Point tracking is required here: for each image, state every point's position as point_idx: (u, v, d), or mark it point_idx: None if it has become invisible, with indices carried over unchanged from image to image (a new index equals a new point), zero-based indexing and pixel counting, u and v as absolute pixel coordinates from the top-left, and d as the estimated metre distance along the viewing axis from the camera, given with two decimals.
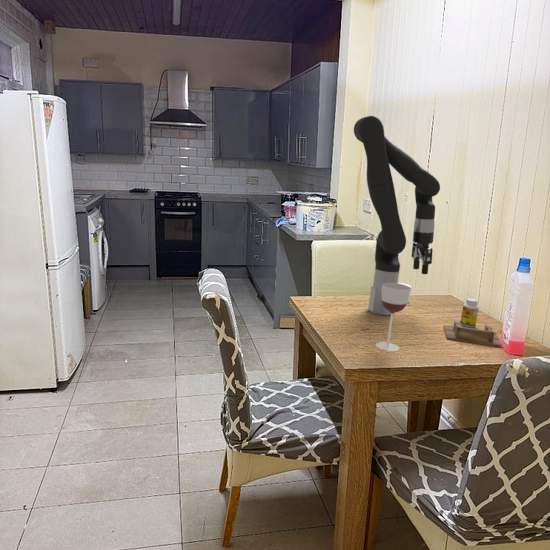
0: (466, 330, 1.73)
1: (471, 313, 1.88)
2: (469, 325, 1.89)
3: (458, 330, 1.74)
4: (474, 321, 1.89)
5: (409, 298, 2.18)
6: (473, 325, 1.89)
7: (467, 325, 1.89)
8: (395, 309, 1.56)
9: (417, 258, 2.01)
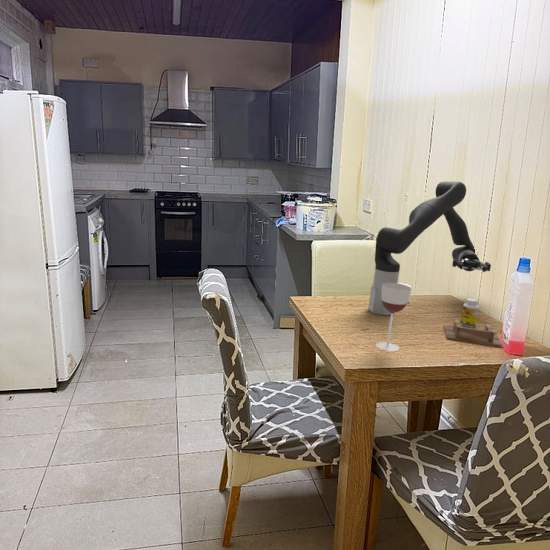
0: (466, 330, 1.73)
1: (471, 313, 1.88)
2: (469, 325, 1.89)
3: (458, 330, 1.74)
4: (474, 321, 1.89)
5: (409, 298, 2.18)
6: (473, 325, 1.89)
7: (467, 325, 1.89)
8: (395, 309, 1.56)
9: None
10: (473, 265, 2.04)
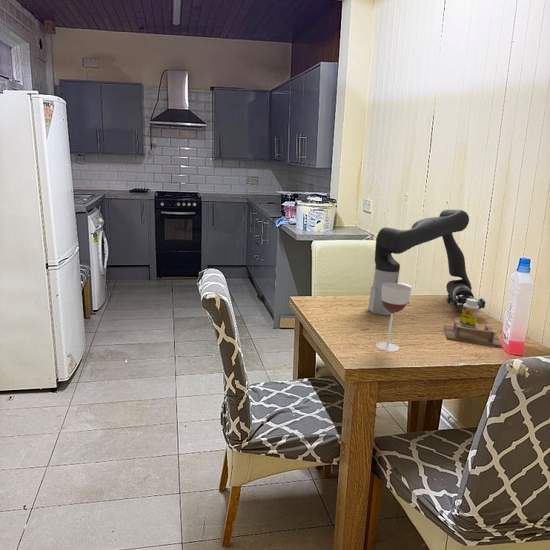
0: (466, 330, 1.73)
1: (471, 313, 1.88)
2: (469, 325, 1.89)
3: (458, 330, 1.74)
4: (474, 321, 1.89)
5: (409, 298, 2.18)
6: (473, 325, 1.89)
7: (467, 325, 1.89)
8: (395, 309, 1.56)
9: None
10: None
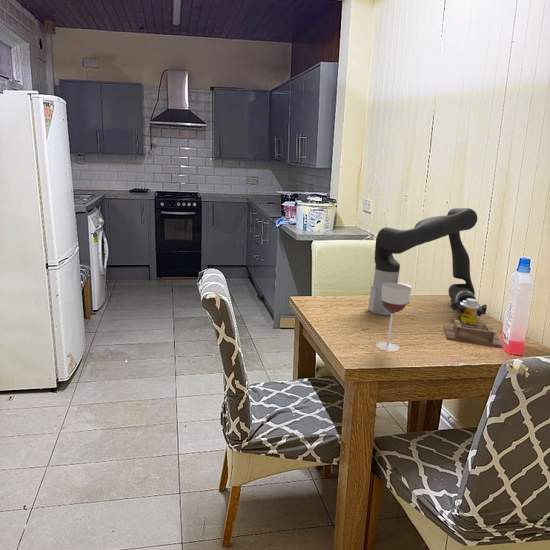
0: (466, 330, 1.73)
1: (471, 313, 1.88)
2: (469, 325, 1.89)
3: (458, 330, 1.74)
4: (474, 321, 1.89)
5: (409, 298, 2.18)
6: (473, 325, 1.89)
7: (467, 325, 1.89)
8: (395, 309, 1.56)
9: None
10: None
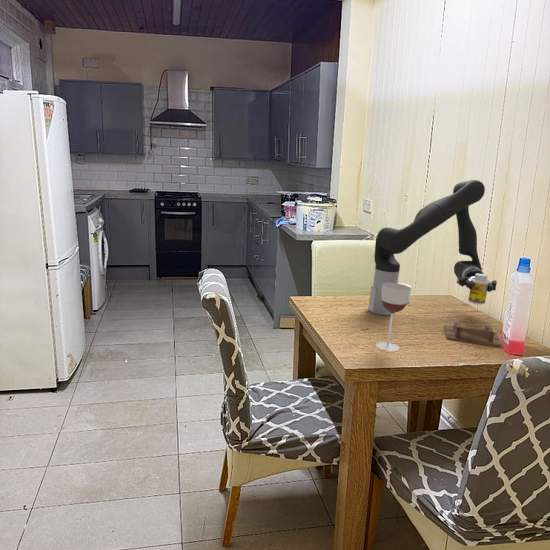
0: (466, 330, 1.73)
1: (480, 289, 1.76)
2: (478, 302, 1.77)
3: (458, 330, 1.74)
4: (483, 298, 1.77)
5: (409, 298, 2.18)
6: (482, 302, 1.77)
7: (476, 302, 1.77)
8: (395, 309, 1.56)
9: None
10: None
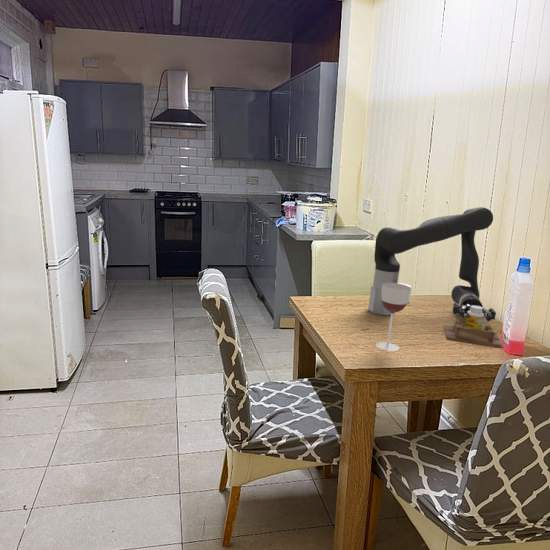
0: (466, 330, 1.73)
1: (475, 321, 1.75)
2: None
3: (458, 330, 1.74)
4: None
5: (409, 298, 2.18)
6: None
7: None
8: (395, 309, 1.56)
9: None
10: None
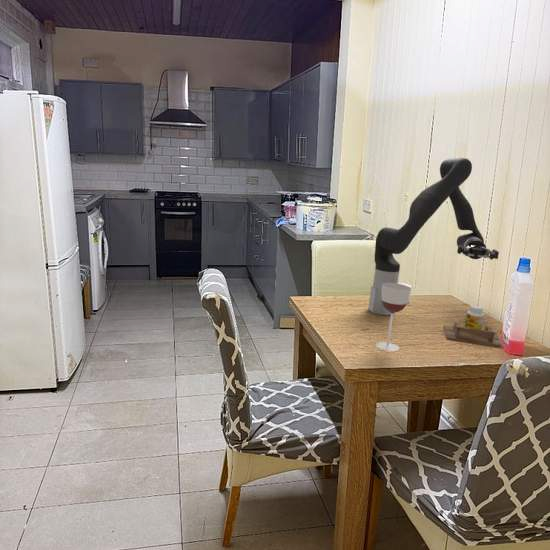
0: (466, 330, 1.73)
1: (475, 321, 1.75)
2: None
3: (458, 330, 1.74)
4: None
5: (409, 298, 2.18)
6: None
7: None
8: (395, 309, 1.56)
9: None
10: (480, 252, 1.89)
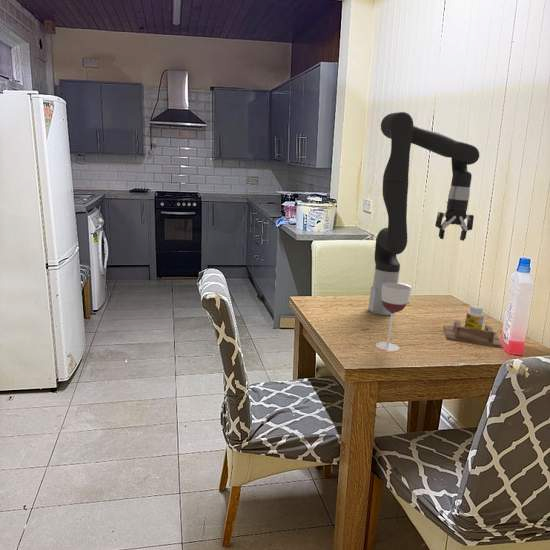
0: (466, 330, 1.73)
1: (475, 321, 1.75)
2: None
3: (458, 330, 1.74)
4: None
5: (409, 298, 2.18)
6: None
7: None
8: (395, 309, 1.56)
9: None
10: (456, 224, 1.99)
